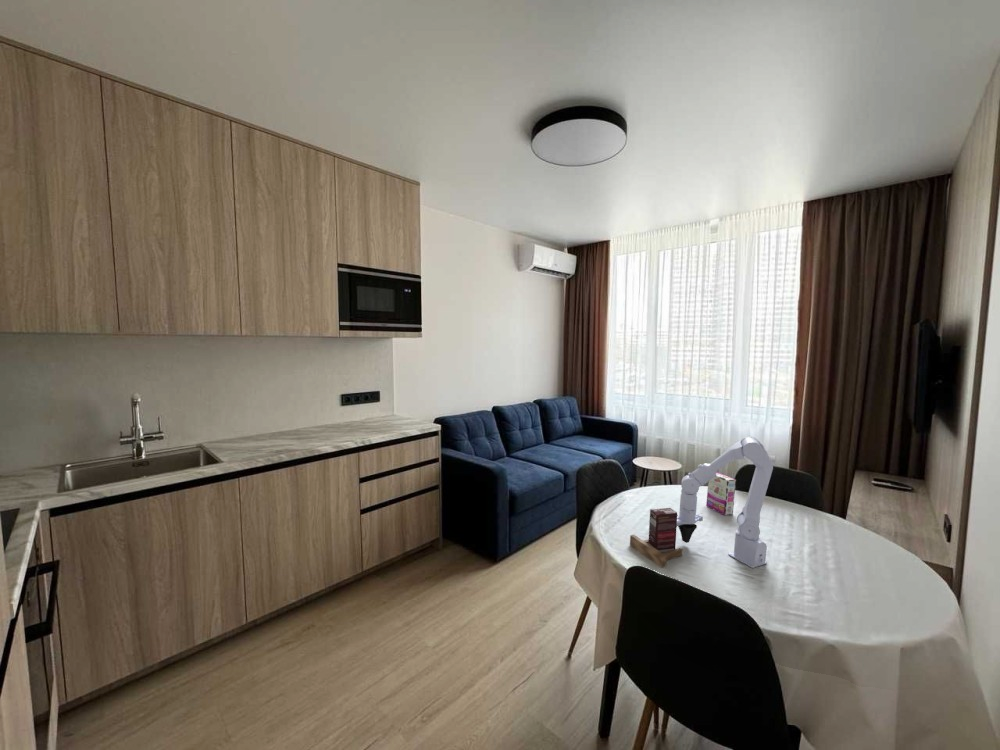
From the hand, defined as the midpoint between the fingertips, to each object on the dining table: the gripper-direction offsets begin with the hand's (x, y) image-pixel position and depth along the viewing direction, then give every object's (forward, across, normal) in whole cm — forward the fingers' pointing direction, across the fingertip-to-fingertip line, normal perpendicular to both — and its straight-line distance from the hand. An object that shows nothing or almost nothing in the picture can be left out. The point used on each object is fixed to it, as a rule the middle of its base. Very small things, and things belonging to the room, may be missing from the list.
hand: (685, 541), depth 157 cm
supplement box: (+2, +12, 0) cm, 13 cm away
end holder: (+2, +13, 0) cm, 13 cm away
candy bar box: (+2, -41, -17) cm, 44 cm away
